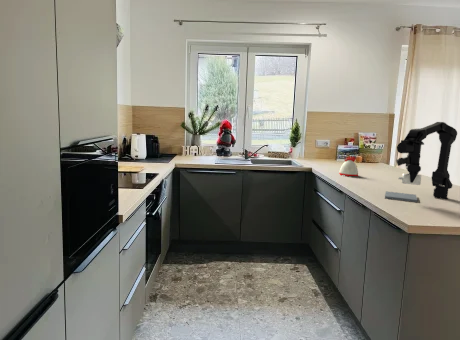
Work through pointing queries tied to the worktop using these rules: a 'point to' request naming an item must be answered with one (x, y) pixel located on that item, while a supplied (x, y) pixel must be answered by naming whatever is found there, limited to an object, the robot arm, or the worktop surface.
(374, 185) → the worktop surface
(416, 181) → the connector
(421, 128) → the robot arm
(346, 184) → the worktop surface
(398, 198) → the slate mat
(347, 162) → the kitchen timer
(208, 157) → the worktop surface
